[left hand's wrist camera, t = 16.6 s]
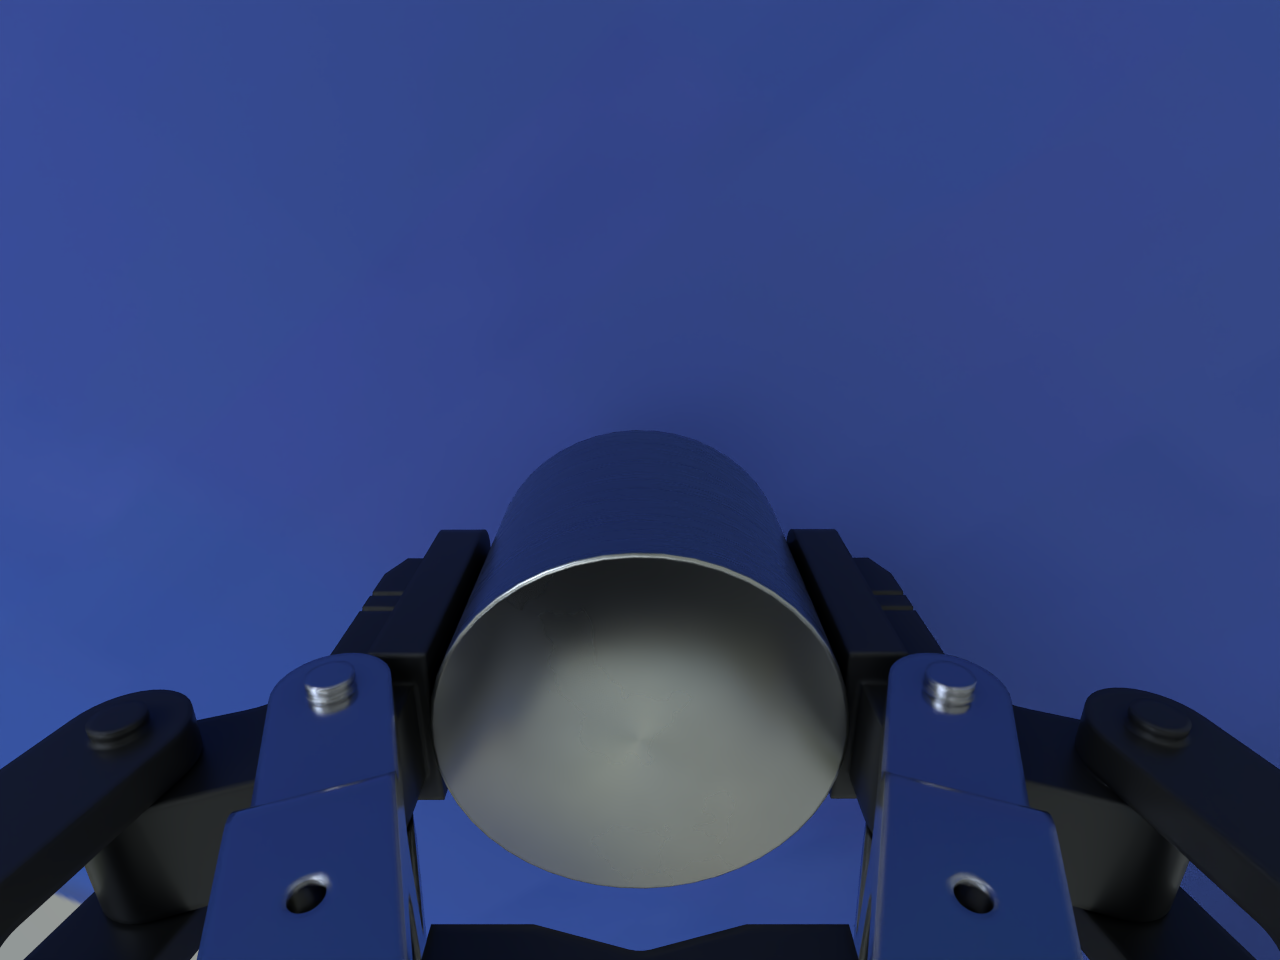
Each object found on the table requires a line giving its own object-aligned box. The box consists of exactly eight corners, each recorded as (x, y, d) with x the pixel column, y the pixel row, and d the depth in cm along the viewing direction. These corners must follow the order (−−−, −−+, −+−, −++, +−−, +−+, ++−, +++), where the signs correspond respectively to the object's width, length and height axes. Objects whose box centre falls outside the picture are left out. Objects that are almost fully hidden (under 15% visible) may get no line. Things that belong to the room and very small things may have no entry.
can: (501, 414, 11) (426, 532, 7) (807, 444, 12) (895, 576, 8) (493, 670, 13) (429, 875, 9) (757, 693, 13) (806, 903, 9)
